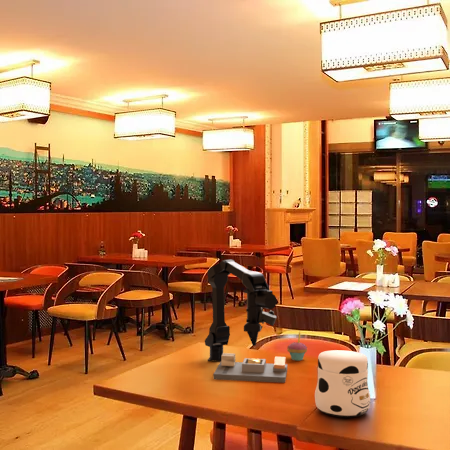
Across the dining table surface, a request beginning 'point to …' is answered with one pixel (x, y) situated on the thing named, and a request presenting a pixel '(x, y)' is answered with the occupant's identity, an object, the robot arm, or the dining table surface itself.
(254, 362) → the button
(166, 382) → the dining table surface
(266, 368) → the panel
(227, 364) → the tan rectangular prism
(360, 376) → the milk container
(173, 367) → the dining table surface
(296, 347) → the cupcake
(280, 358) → the rocker
